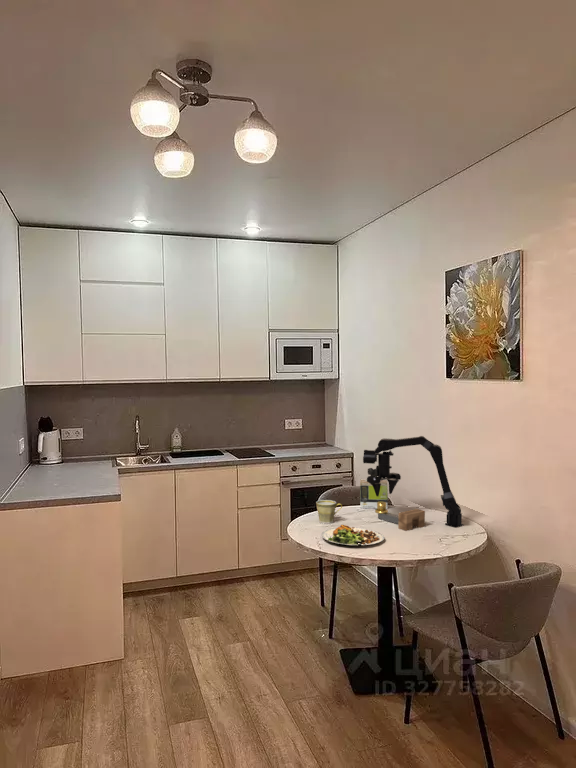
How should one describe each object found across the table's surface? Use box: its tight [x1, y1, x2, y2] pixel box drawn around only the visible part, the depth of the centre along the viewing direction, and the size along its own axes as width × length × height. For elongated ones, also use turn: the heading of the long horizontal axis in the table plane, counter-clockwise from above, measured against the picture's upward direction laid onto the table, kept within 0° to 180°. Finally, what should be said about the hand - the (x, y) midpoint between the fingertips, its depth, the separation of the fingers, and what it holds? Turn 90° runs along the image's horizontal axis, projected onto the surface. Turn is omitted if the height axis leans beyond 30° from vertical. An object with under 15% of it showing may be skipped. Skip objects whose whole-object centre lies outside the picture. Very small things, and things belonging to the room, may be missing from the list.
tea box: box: [359, 478, 389, 510], centre depth 315 cm, size 15×10×15 cm
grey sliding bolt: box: [374, 501, 399, 525], centre depth 285 cm, size 18×6×8 cm, turn 36°
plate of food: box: [321, 524, 385, 546], centre depth 254 cm, size 28×28×6 cm
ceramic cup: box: [315, 499, 343, 525], centre depth 283 cm, size 13×10×10 cm
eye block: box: [397, 508, 426, 531], centre depth 273 cm, size 5×13×8 cm, turn 126°
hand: (383, 495), depth 285 cm, fingers open, 9 cm apart
